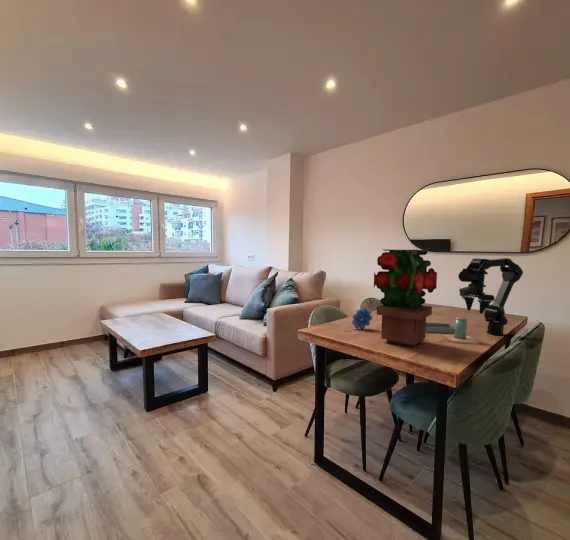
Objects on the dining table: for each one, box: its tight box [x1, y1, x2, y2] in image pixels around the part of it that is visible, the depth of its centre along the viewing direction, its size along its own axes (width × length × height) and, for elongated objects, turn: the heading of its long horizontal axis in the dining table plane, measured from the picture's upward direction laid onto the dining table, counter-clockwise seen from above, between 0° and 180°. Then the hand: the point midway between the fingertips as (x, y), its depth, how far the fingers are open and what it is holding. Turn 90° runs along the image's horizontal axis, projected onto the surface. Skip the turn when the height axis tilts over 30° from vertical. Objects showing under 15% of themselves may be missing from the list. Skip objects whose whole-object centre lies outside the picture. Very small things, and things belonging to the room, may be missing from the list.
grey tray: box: [426, 322, 455, 335], centre depth 166 cm, size 18×12×4 cm, turn 83°
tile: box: [442, 333, 480, 345], centre depth 150 cm, size 12×12×1 cm
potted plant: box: [373, 248, 438, 348], centre depth 144 cm, size 22×22×45 cm
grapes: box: [351, 307, 373, 330], centre depth 170 cm, size 12×7×12 cm, turn 93°
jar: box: [453, 316, 468, 339], centre depth 150 cm, size 5×5×10 cm
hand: (474, 311), depth 157 cm, fingers open, 9 cm apart
